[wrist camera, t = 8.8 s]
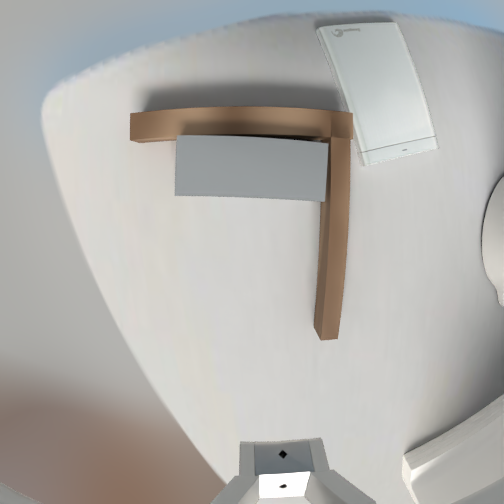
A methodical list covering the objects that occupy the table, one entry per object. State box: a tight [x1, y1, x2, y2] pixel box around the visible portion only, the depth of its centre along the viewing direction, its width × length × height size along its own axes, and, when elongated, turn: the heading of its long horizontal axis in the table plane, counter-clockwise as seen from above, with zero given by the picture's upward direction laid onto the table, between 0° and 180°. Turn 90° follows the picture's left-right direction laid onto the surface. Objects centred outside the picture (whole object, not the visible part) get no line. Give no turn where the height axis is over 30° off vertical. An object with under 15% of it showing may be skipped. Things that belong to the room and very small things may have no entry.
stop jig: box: [130, 106, 353, 340], centre depth 23 cm, size 16×18×2 cm
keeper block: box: [175, 135, 328, 202], centre depth 22 cm, size 10×4×4 cm, turn 87°
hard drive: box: [316, 22, 439, 166], centre depth 22 cm, size 2×8×12 cm
